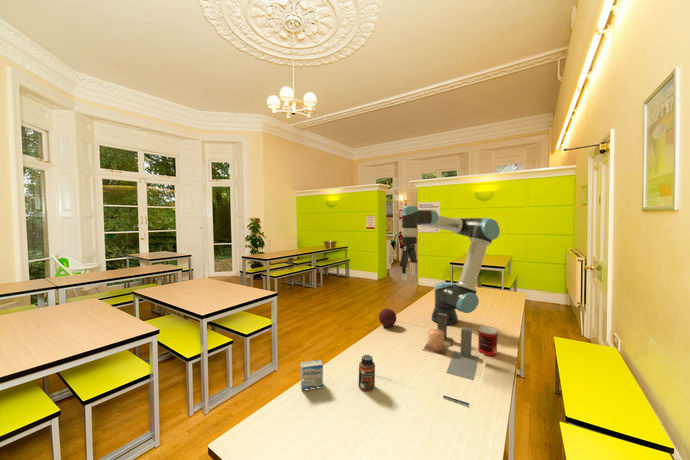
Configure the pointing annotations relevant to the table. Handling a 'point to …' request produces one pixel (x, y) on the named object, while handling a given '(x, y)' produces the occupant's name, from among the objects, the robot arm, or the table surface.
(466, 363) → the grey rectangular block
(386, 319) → the decorative ball
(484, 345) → the canned food
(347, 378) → the table surface
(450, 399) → the hard drive
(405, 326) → the table surface
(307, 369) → the medicine box
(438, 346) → the peach capsule shape
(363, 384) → the supplement bottle
